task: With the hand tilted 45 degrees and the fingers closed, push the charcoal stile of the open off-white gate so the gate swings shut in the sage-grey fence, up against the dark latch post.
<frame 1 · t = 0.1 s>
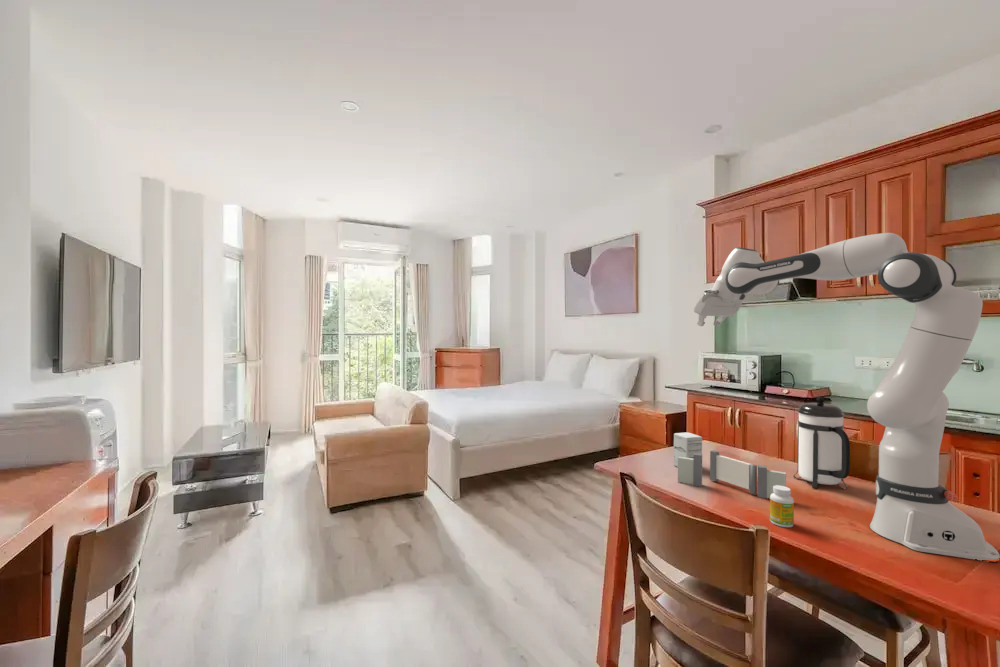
hand: (708, 325, 157), 54 cm above the table, tool tilted 30°, fingers open, 8 cm apart
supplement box: (687, 468, 162), on the table
coffee press: (823, 485, 144), on the table
supplement bottle: (781, 524, 115), on the table
gate: (733, 471, 141), point 6 cm above the table, hinge at -30.0°
fence: (753, 494, 135), on the table
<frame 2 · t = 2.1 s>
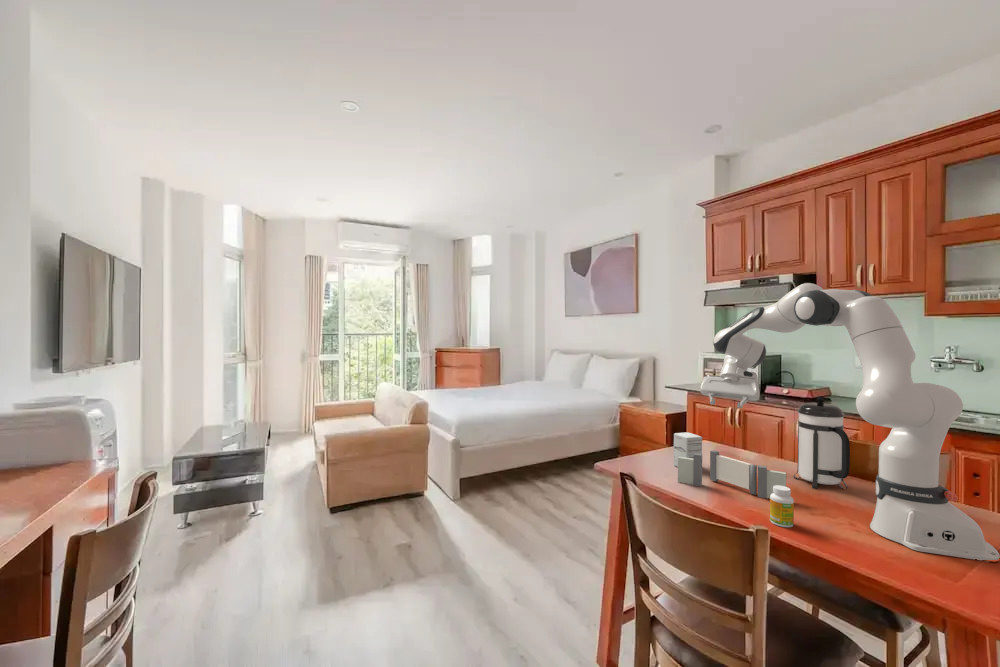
hand: (725, 405, 160), 24 cm above the table, tool tilted 45°, fingers open, 8 cm apart
nothing on the table moved.
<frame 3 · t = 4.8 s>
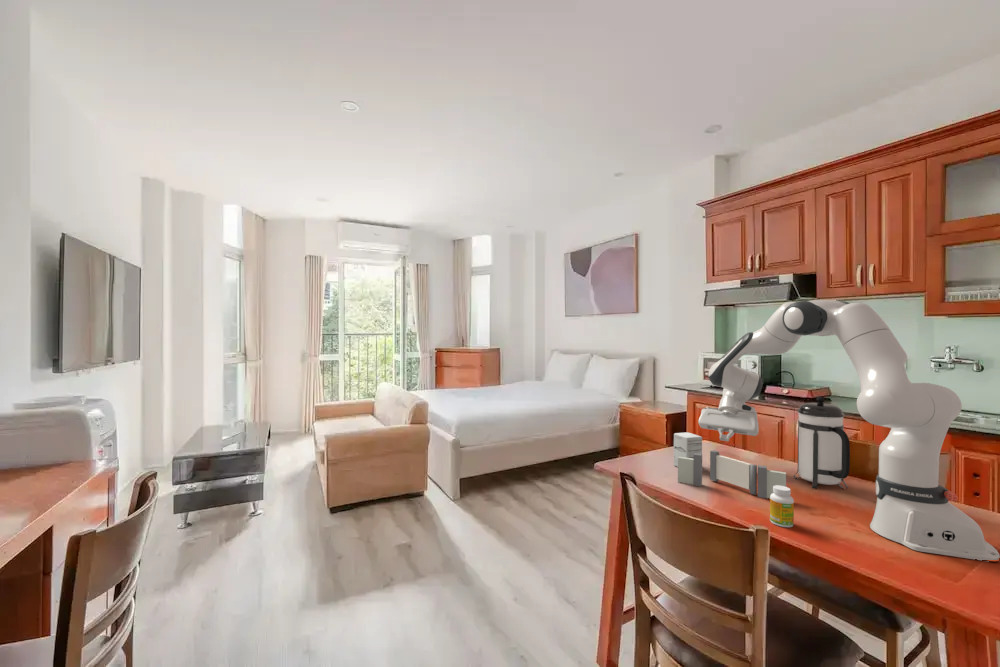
hand: (723, 440, 158), 12 cm above the table, tool tilted 45°, fingers closed
nothing on the table moved.
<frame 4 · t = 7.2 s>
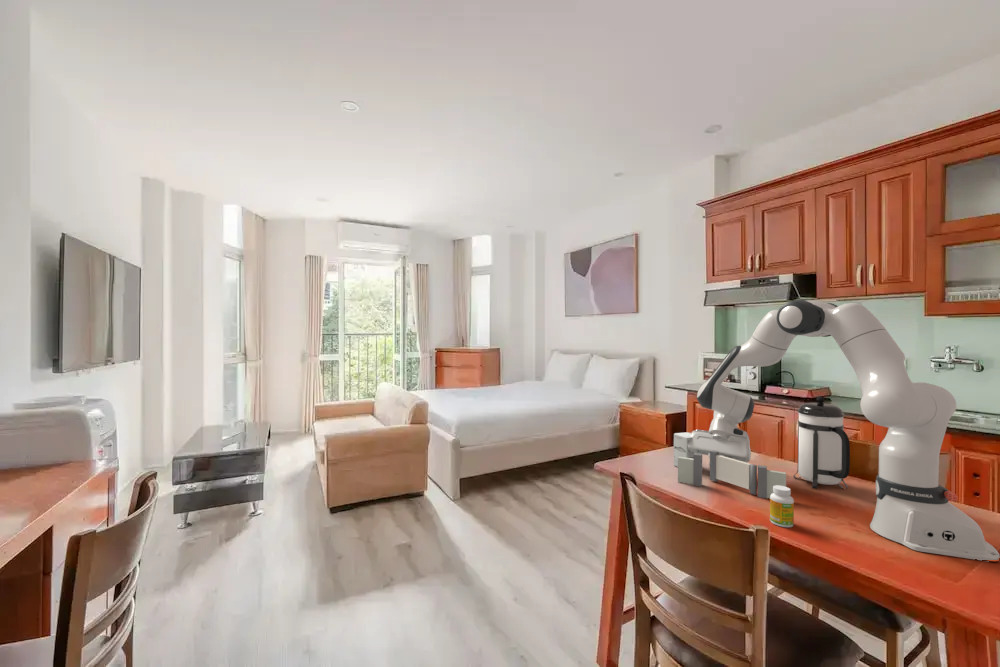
hand: (713, 466, 149), 5 cm above the table, tool tilted 45°, fingers closed, pressing on gate
gate: (732, 471, 141), point 6 cm above the table, hinge at -29.1°, touching gripper
everything else where it was.
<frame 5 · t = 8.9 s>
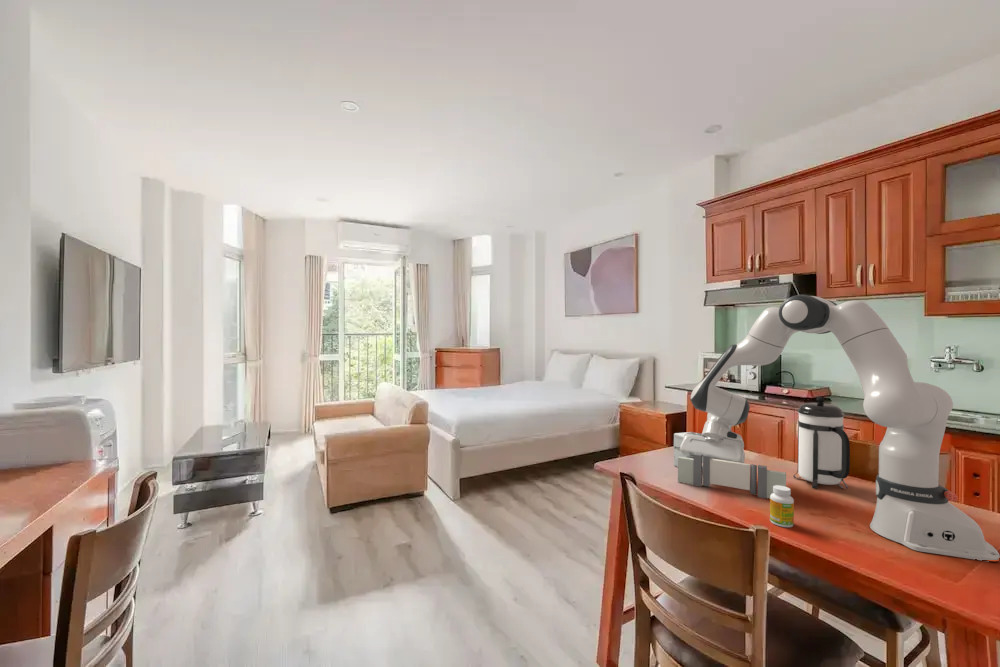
hand: (706, 470, 144), 5 cm above the table, tool tilted 45°, fingers closed
gate: (729, 473, 139), point 6 cm above the table, hinge at 0.4°, touching gripper
everything else where it was.
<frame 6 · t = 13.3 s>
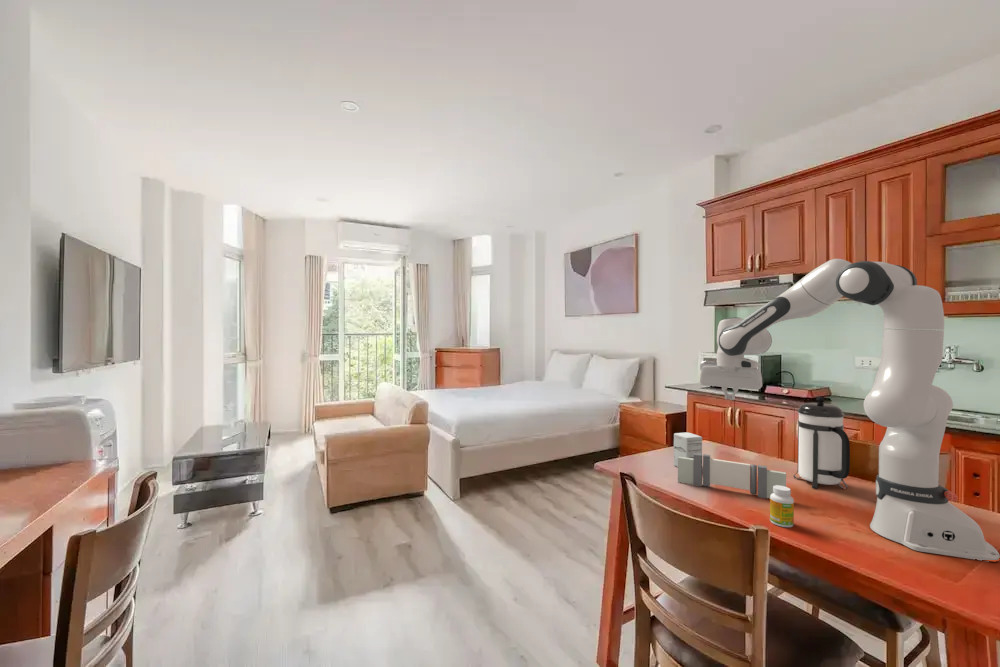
hand: (729, 399, 156), 27 cm above the table, tool pointing down, fingers closed
gate: (729, 473, 139), point 5 cm above the table, hinge at 0.4°
everything else where it was.
at the end: gate at +0° (first picture: -30°) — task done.
